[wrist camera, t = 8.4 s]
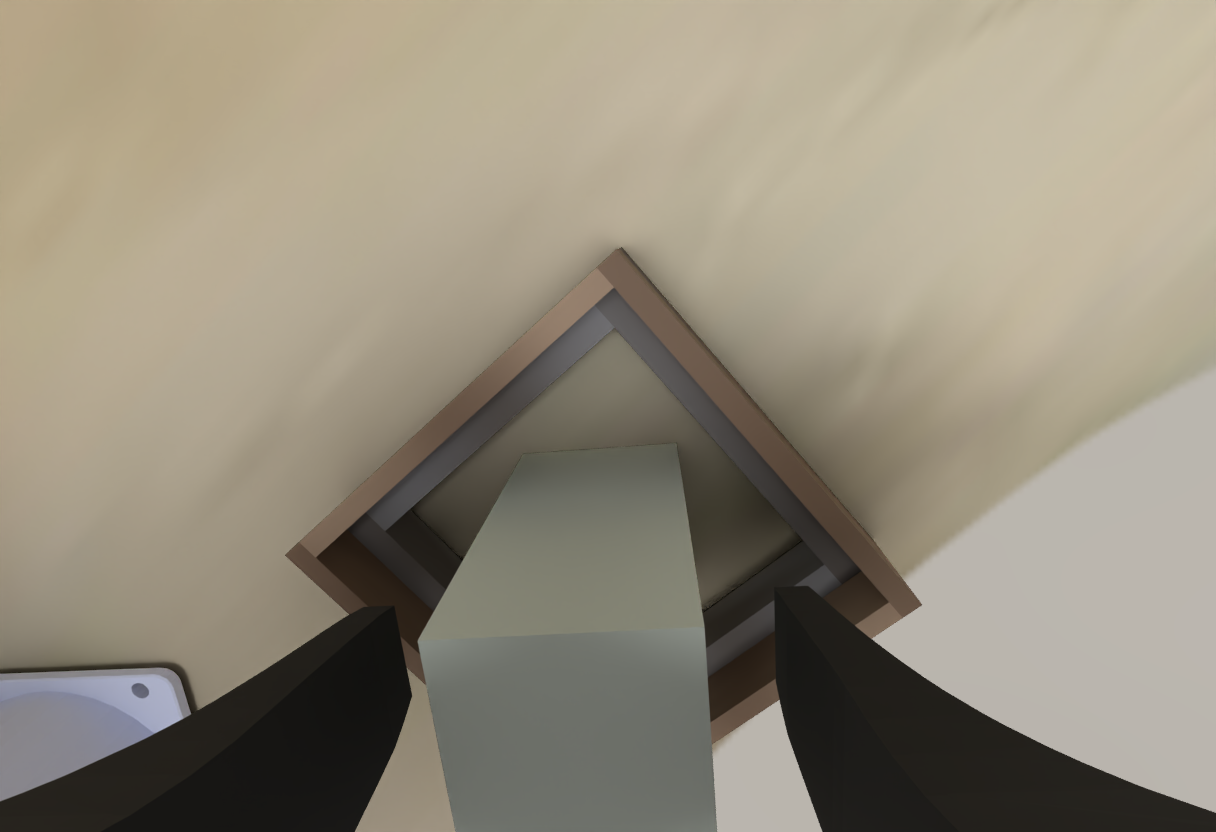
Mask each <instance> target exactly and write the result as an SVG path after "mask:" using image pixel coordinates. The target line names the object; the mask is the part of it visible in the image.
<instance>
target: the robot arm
mask: <svg viewBox="0 0 1216 832" xmlns="http://www.w3.org/2000/svg"><path fill="white" fill-rule="evenodd" d="M774 609H775V667H776V686H777V690H778V695H779V699H780V704H781V708H782V712H783V717H784V721H785V725H786V729H787V733H788V737H789V739H790V742H791V745H792V748H793V751H794V754H795V757H796V759H797V762H798V765H799V768H800V771H801V773H802V776H803V779H804V782H805V785H806V787H807V790H808V793H809V796H810V798H811V801H812V804H813V807H814V810H815V812H816V815H817V818H818V821H819V823H820V826H821V829H822V831H823V832H1216V813H1214V812H1212V811H1209V810H1206V809H1203V808H1200V807H1197V806H1194V805H1191V804H1189V803H1186V802H1183V801H1180V800H1177V799H1174V798H1172V797H1168V796H1166V795H1163V794H1160V793H1157V792H1154V791H1152V790H1148V789H1146V788H1143V787H1141V786H1138V785H1135V784H1133V783H1131V782H1128V781H1126V780H1123V779H1121V778H1118V777H1116V776H1114V775H1111V774H1109V773H1106V772H1104V771H1101V770H1099V769H1097V768H1094V767H1092V766H1090V765H1087V764H1085V763H1082V762H1080V761H1078V760H1075V759H1073V758H1071V757H1069V756H1067V755H1065V754H1062V753H1060V752H1058V751H1056V750H1053V749H1051V748H1049V747H1047V746H1045V745H1043V744H1041V743H1039V742H1037V741H1035V740H1033V739H1031V738H1029V737H1027V736H1025V735H1023V734H1021V733H1019V732H1017V731H1015V730H1013V729H1011V728H1009V727H1007V726H1005V725H1003V724H1001V723H999V722H998V721H996V720H994V719H992V718H990V717H988V716H987V715H985V714H983V713H981V712H979V711H978V710H976V709H974V708H972V707H971V706H969V705H968V704H966V703H964V702H963V701H961V700H959V699H957V698H956V697H954V696H952V695H951V694H949V693H947V692H946V691H944V690H942V689H941V688H939V687H938V686H936V685H935V684H933V683H932V682H930V681H929V680H927V679H926V678H924V677H922V676H921V675H920V674H918V673H917V672H916V671H914V670H913V669H911V668H910V667H908V666H907V665H905V664H904V663H903V662H901V661H900V660H898V659H897V658H896V657H894V656H893V655H892V654H890V653H889V652H888V651H886V650H885V649H884V648H882V647H881V646H880V645H878V644H877V643H876V642H874V641H873V640H872V639H871V638H870V637H868V636H867V635H866V634H865V633H863V632H862V631H861V630H860V629H858V628H857V627H856V626H855V625H854V624H852V623H851V622H850V621H849V620H848V619H846V618H845V617H844V616H843V615H842V614H840V613H839V612H838V611H837V610H836V609H835V608H833V607H832V606H831V605H830V604H829V603H828V602H827V601H825V600H824V599H823V598H822V597H821V596H820V595H818V594H817V593H816V592H815V591H814V590H813V589H811V588H810V587H809V586H790V587H774ZM144 685H145V686H144ZM411 698H412V693H411V688H410V683H409V678H408V673H407V667H406V662H405V657H404V652H403V647H402V642H401V637H400V632H399V627H398V621H397V616H396V611H395V606H394V605H392V606H371V607H363V608H361V609H359V610H357V611H355V612H353V613H352V614H350V615H348V616H347V617H345V618H343V619H342V620H340V621H339V622H337V623H335V624H334V625H332V626H331V627H329V628H328V629H326V630H325V631H323V632H322V633H320V634H319V635H317V636H316V637H314V638H313V639H311V640H310V641H308V642H307V643H305V644H304V645H302V646H301V647H299V648H298V649H296V650H295V651H293V652H292V653H290V654H289V655H287V656H286V657H284V658H283V659H281V660H279V661H278V662H276V663H275V664H273V665H272V666H270V667H269V668H267V669H266V670H264V671H262V672H261V673H259V674H258V675H256V676H254V677H253V678H251V679H249V680H248V681H246V682H245V683H243V684H241V685H240V686H238V687H236V688H235V689H233V690H232V691H230V692H228V693H227V694H225V695H224V696H222V697H220V698H219V699H217V700H215V701H214V702H212V703H210V704H208V705H207V706H205V707H203V708H202V709H200V710H198V711H196V712H194V713H193V714H191V712H190V709H189V706H188V703H187V699H186V696H185V693H184V690H183V686H182V683H181V680H180V678H179V677H178V675H177V674H176V673H175V672H174V671H172V670H170V669H167V668H138V669H112V670H86V671H61V672H35V673H9V674H0V832H355V830H356V828H357V826H358V824H359V822H360V820H361V817H362V815H363V813H364V811H365V809H366V807H367V805H368V803H369V801H370V799H371V797H372V795H373V793H374V791H375V789H376V787H377V785H378V783H379V780H380V778H381V776H382V774H383V772H384V770H385V768H386V766H387V764H388V762H389V759H390V757H391V755H392V753H393V751H394V749H395V746H396V743H397V741H398V738H399V735H400V732H401V729H402V726H403V723H404V720H405V717H406V714H407V710H408V707H409V704H410V701H411Z"/></svg>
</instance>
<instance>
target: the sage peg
mask: <svg viewBox="0 0 1216 832" xmlns="http://www.w3.org/2000/svg"><path fill="white" fill-rule="evenodd" d="M418 646H419V651H420V656H421V661H422V666H423V671H424V676H425V681H426V686H427V691H428V696H429V701H430V706H431V711H432V716H433V721H434V726H435V731H436V736H437V741H438V746H439V751H440V756H441V761H442V766H443V771H444V776H445V781H446V786H447V791H448V796H449V801H450V806H451V811H452V816H453V821H454V826H455V831H456V832H717V823H716V809H715V808H716V807H715V790H714V773H713V757H712V741H711V724H710V708H709V692H708V675H707V659H706V643H705V627H704V620H703V614H702V607H701V600H700V594H699V587H698V581H697V574H696V568H695V561H694V554H693V548H692V541H691V535H690V528H689V522H688V515H687V508H686V502H685V495H684V489H683V482H682V476H681V469H680V462H679V456H678V449H677V443H668V444H654V445H640V446H626V447H612V448H598V449H584V450H570V451H556V452H542V453H528V454H523V455H522V457H521V458H520V460H519V462H518V464H517V465H516V467H515V469H514V471H513V473H512V474H511V476H510V478H509V480H508V481H507V483H506V485H505V487H504V488H503V490H502V492H501V494H500V496H499V497H498V499H497V501H496V503H495V504H494V506H493V508H492V510H491V511H490V513H489V515H488V517H487V519H486V520H485V522H484V524H483V526H482V527H481V529H480V531H479V533H478V535H477V536H476V538H475V540H474V542H473V543H472V545H471V547H470V549H469V550H468V552H467V554H466V556H465V558H464V559H463V561H462V563H461V565H460V566H459V568H458V570H457V572H456V573H455V575H454V577H453V579H452V581H451V582H450V584H449V586H448V588H447V589H446V591H445V593H444V595H443V597H442V598H441V600H440V602H439V604H438V605H437V607H436V609H435V611H434V612H433V614H432V616H431V618H430V620H429V621H428V623H427V625H426V627H425V628H424V630H423V632H422V634H421V636H420V637H419V639H418Z"/></svg>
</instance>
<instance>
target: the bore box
mask: <svg viewBox="0 0 1216 832" xmlns="http://www.w3.org/2000/svg"><path fill="white" fill-rule="evenodd" d="M614 328H615V329H616V330H617V331H618V332H619V333H620V334H621V336H622V337H623V338H624V339H625V340H626V341H627V342H628V343H629V345H630V346H631V347H632V348H633V349H634V350H635V351H636V352H637V354H638V355H639V356H640V357H641V358H642V359H643V360H644V362H645V363H646V364H647V365H648V366H649V367H650V368H651V369H652V371H653V372H654V373H655V374H656V375H657V376H658V377H659V378H660V380H661V381H662V382H663V383H664V384H665V385H666V386H667V387H668V389H669V390H670V391H671V392H672V393H673V394H674V395H675V397H676V398H677V399H678V400H679V401H680V402H681V403H682V404H683V406H684V407H685V408H686V409H687V410H688V411H689V412H690V413H691V415H692V416H693V417H694V418H695V419H696V420H697V421H698V422H699V424H700V425H701V426H702V427H703V428H704V429H705V430H706V432H707V433H708V434H709V435H710V436H711V437H712V438H713V439H714V441H715V442H716V443H717V444H718V445H719V446H720V447H721V448H722V450H723V451H724V452H725V453H726V454H727V455H728V456H729V457H730V459H731V460H732V461H733V462H734V463H735V464H736V465H737V467H738V468H739V469H740V470H741V471H742V472H743V473H744V474H745V476H746V477H747V478H748V479H749V480H750V481H751V482H752V483H753V485H754V486H755V487H756V488H757V489H758V490H759V491H760V492H761V494H762V495H763V496H764V497H765V498H766V499H767V500H768V502H769V503H770V504H771V505H772V506H773V507H774V508H775V509H776V511H777V512H778V513H779V514H780V515H781V516H782V517H783V518H784V520H785V521H786V522H787V523H788V524H789V525H790V526H791V527H792V529H793V530H794V531H795V532H796V533H797V534H798V535H799V537H800V538H801V539H802V540H803V541H802V542H800V543H799V544H798V545H796V546H795V547H794V548H792V549H791V550H789V551H788V552H787V553H785V554H784V555H783V556H781V557H780V558H778V559H777V560H776V561H774V562H773V563H771V564H770V565H769V566H767V567H766V568H765V569H763V570H762V571H760V572H759V573H758V574H756V575H755V576H754V577H752V578H751V579H749V580H748V581H747V582H745V583H744V584H742V585H741V586H740V587H738V588H737V589H736V590H734V591H733V592H731V593H730V594H729V595H727V596H726V597H725V598H723V599H722V600H720V601H719V602H718V603H716V604H715V605H714V606H712V607H711V608H709V609H708V610H707V611H705V612H704V613H702V614H703V620H704V627H705V643H706V659H707V675H708V692H709V708H710V724H711V741H712V744H713V743H715V742H716V741H718V740H719V739H721V738H722V737H724V736H725V735H727V734H728V733H730V732H731V731H733V730H734V729H736V728H737V727H739V726H740V725H742V724H743V723H745V722H746V721H748V720H749V719H751V718H752V717H754V716H755V715H757V714H758V713H760V712H761V711H763V710H764V709H766V708H767V707H769V706H771V705H772V704H774V703H775V702H777V701H778V700H780V699H779V695H778V690H777V686H776V667H775V609H774V587H790V586H809V587H810V588H811V589H813V590H814V591H815V592H816V593H817V594H818V595H820V596H821V597H822V598H823V599H824V600H825V601H827V602H828V603H829V604H830V605H831V606H832V607H833V608H835V609H836V610H837V611H838V612H839V613H840V614H842V615H843V616H844V617H845V618H846V619H848V620H849V621H850V622H851V623H852V624H854V625H855V626H856V627H857V628H858V629H860V630H861V631H862V632H863V633H865V634H866V635H867V636H868V637H870V638H871V639H872V638H873V637H875V636H876V635H877V634H879V633H880V632H882V631H884V630H885V629H886V628H888V627H890V626H891V625H893V624H894V623H896V622H897V621H899V620H900V619H902V618H903V617H905V616H906V615H908V614H909V613H911V612H912V611H914V610H915V609H917V608H918V607H920V606H921V605H922V604H921V603H920V601H919V600H918V599H917V597H916V596H915V595H914V593H913V592H912V591H911V589H910V588H909V587H908V585H907V584H906V583H905V581H904V580H903V579H902V577H901V576H900V575H899V573H898V572H897V571H896V570H895V568H894V567H893V566H892V564H891V563H890V562H889V560H888V559H887V558H886V556H885V555H884V554H883V552H882V551H881V550H880V548H879V547H878V546H877V544H876V543H875V542H874V540H873V539H872V538H871V537H870V536H869V535H868V533H867V532H866V531H865V530H864V529H863V528H862V527H861V525H860V524H859V523H858V522H857V521H856V520H855V518H854V517H853V516H852V515H851V514H850V513H849V511H848V510H847V509H846V508H845V507H844V506H843V504H842V503H841V502H840V501H839V500H838V499H837V497H836V496H835V495H834V494H833V493H832V492H831V490H830V489H829V488H828V487H827V486H826V485H825V483H824V482H823V481H822V480H821V479H820V478H819V476H818V475H817V474H816V473H815V472H814V471H813V469H812V468H811V467H810V466H809V465H808V464H807V462H806V461H805V460H804V459H803V458H802V457H801V456H800V454H799V453H798V452H797V451H796V450H795V449H794V447H793V446H792V445H791V444H790V443H789V442H788V440H787V439H786V438H785V437H784V436H783V435H782V433H781V432H780V431H779V430H778V429H777V428H776V426H775V425H774V424H773V423H772V422H771V421H770V419H769V418H768V417H767V416H766V415H765V414H764V412H763V411H762V410H761V409H760V408H759V407H758V405H757V404H756V403H755V402H754V401H753V400H752V398H751V397H750V396H749V395H748V394H747V393H746V391H745V390H744V389H743V388H742V387H741V386H740V384H739V383H738V382H737V381H736V380H735V379H734V378H733V376H732V375H731V374H730V373H729V372H728V371H727V369H726V368H725V367H724V366H723V365H722V364H721V362H720V361H719V360H718V359H717V358H716V357H715V355H714V354H713V353H712V352H711V351H710V350H709V348H708V347H707V346H706V345H705V344H704V343H703V341H702V340H701V339H700V338H699V337H698V336H697V334H696V333H695V332H694V331H693V330H692V329H691V327H690V326H689V325H688V324H687V323H686V322H685V320H684V319H683V318H682V317H681V316H680V315H679V313H678V312H677V311H676V310H675V309H674V308H673V307H672V305H671V304H670V303H669V302H668V301H667V300H666V298H665V297H664V296H663V295H662V294H661V293H660V291H659V290H658V289H657V288H656V287H655V286H654V284H653V283H652V282H651V281H650V280H649V279H648V277H647V276H646V275H645V274H644V273H643V272H642V270H641V269H640V268H639V267H638V266H637V265H636V263H635V262H634V261H633V260H632V259H631V258H630V256H629V255H628V254H627V253H626V252H625V251H624V249H623V248H622V247H621V248H619V249H616V250H615V251H614V252H613V253H612V254H611V255H610V256H609V257H607V258H606V259H605V260H604V261H603V262H602V263H601V264H600V265H599V266H598V267H597V268H596V269H594V270H593V271H592V272H591V273H590V274H589V275H588V276H587V277H586V278H585V279H584V280H583V281H581V282H580V283H579V284H578V285H577V286H576V287H575V288H574V289H573V290H572V291H571V292H570V293H568V294H567V295H566V296H565V297H564V298H563V299H562V300H561V301H560V302H559V303H558V304H557V305H555V306H554V307H553V308H552V309H551V310H550V311H549V312H548V313H547V314H546V315H545V316H544V317H542V318H541V319H540V320H539V321H538V322H537V323H536V324H535V325H534V326H533V327H532V328H531V329H529V330H528V331H527V332H526V333H525V334H524V335H523V336H522V337H521V338H520V339H519V340H518V341H516V342H515V343H514V344H513V345H512V346H511V347H510V348H509V349H508V350H507V351H506V352H505V353H503V354H502V355H501V356H500V357H499V358H498V359H497V360H496V361H495V362H494V363H493V364H491V365H490V366H489V367H488V368H487V369H486V370H485V371H484V372H483V373H482V374H481V375H480V376H478V377H477V378H476V379H475V380H474V381H473V382H472V383H471V384H470V385H469V386H468V387H467V388H465V389H464V390H463V391H462V392H461V393H460V394H459V395H458V396H457V397H456V398H455V399H454V400H452V401H451V402H450V403H449V404H448V405H447V406H446V407H445V408H444V409H443V410H442V411H441V412H439V413H438V414H437V415H436V416H435V417H434V418H433V419H432V420H431V421H430V422H429V423H428V424H426V425H425V426H424V427H423V428H422V429H421V430H420V431H419V432H418V433H417V434H416V435H415V436H413V437H412V438H411V439H410V440H409V441H408V442H407V443H406V444H405V445H404V446H403V447H402V448H400V449H399V450H398V451H397V452H396V453H395V454H394V455H393V456H392V457H391V458H390V459H389V460H387V461H386V462H385V463H384V464H383V465H382V466H381V467H380V468H379V469H378V470H377V471H376V472H374V473H373V474H372V475H371V476H370V477H369V478H368V479H367V480H366V481H365V482H364V483H363V484H361V485H360V486H359V487H358V488H357V489H356V490H355V491H354V492H353V493H352V494H351V495H350V496H348V497H347V498H346V499H345V500H344V501H343V502H342V503H341V504H340V505H339V506H338V507H336V508H335V509H334V510H333V511H332V512H331V513H330V514H329V515H328V516H327V517H326V518H325V519H323V520H322V521H321V522H320V523H319V524H318V525H317V526H316V527H315V528H314V529H313V530H312V531H310V532H309V533H308V534H307V535H306V536H305V537H304V538H303V539H302V540H301V541H300V542H299V543H297V544H296V545H295V546H294V547H293V548H292V549H291V550H290V551H289V552H288V553H287V554H286V555H285V556H286V557H287V558H289V559H290V560H291V561H292V562H293V563H294V564H295V565H296V566H297V567H298V568H299V569H301V570H302V571H303V572H304V573H305V574H306V575H307V576H308V577H309V578H310V579H311V580H312V581H314V582H315V583H316V584H317V585H318V586H319V587H320V588H321V589H322V590H323V591H324V592H326V593H327V594H328V595H329V596H330V597H331V598H332V599H333V600H334V601H335V602H336V603H337V604H339V605H340V606H341V607H342V608H343V609H344V610H345V611H346V612H347V613H348V614H349V615H350V614H352V613H353V612H355V611H357V610H359V609H361V608H363V607H371V606H392V605H394V606H395V611H396V616H397V621H398V627H399V632H400V637H401V642H402V647H403V652H404V657H405V662H406V667H407V668H408V669H409V670H410V671H411V672H412V673H414V674H415V675H416V676H417V677H418V678H419V679H420V680H421V681H422V682H423V683H424V684H425V685H426V681H425V676H424V671H423V666H422V661H421V656H420V651H419V646H418V639H419V637H420V636H421V634H422V632H423V630H424V628H425V627H426V625H427V623H428V621H429V620H430V618H431V616H432V614H433V612H434V611H435V609H436V607H437V605H438V604H439V602H440V600H441V598H442V597H443V595H444V593H445V591H446V589H447V588H448V586H449V584H450V582H451V581H452V579H453V577H454V575H455V573H456V572H457V570H458V568H459V566H460V565H461V563H462V560H461V559H460V558H459V557H458V556H457V555H456V554H455V553H454V552H453V551H452V550H451V549H450V548H449V547H448V546H447V545H446V544H445V543H444V542H443V541H442V540H441V539H440V538H439V537H438V536H437V535H436V534H435V533H434V532H432V531H431V530H430V529H429V528H428V527H427V526H426V525H425V524H424V523H423V522H422V521H421V520H420V519H419V518H418V517H417V516H416V515H415V514H414V513H413V512H412V511H411V510H410V509H411V508H412V507H413V506H414V505H415V504H416V503H417V502H419V501H420V500H421V499H422V498H423V497H424V496H425V495H426V494H428V493H429V492H430V491H431V490H432V489H433V488H434V487H435V486H437V485H438V484H439V483H440V482H441V481H442V480H443V479H444V478H446V477H447V476H448V475H449V474H450V473H451V472H452V471H453V470H455V469H456V468H457V467H458V466H459V465H460V464H461V463H462V462H464V461H465V460H466V459H467V458H468V457H469V456H470V455H471V454H473V453H474V452H475V451H476V450H477V449H478V448H479V447H481V446H482V445H483V444H484V443H485V442H486V441H487V440H488V439H490V438H491V437H492V436H493V435H494V434H495V433H496V432H497V431H499V430H500V429H501V428H502V427H503V426H504V425H505V424H506V423H508V422H509V421H510V420H511V419H512V418H513V417H514V416H515V415H517V414H518V413H519V412H520V411H521V410H522V409H523V408H524V407H526V406H527V405H528V404H529V403H530V402H531V401H532V400H534V399H535V398H536V397H537V396H538V395H539V394H540V393H541V392H543V391H544V390H545V389H546V388H547V387H548V386H549V385H550V384H552V383H553V382H554V381H555V380H556V379H557V378H558V377H559V376H561V375H562V374H563V373H564V372H565V371H566V370H567V369H568V368H570V367H571V366H572V365H573V364H574V363H575V362H576V361H577V360H579V359H580V358H581V357H582V356H583V355H584V354H585V353H587V352H588V351H589V350H590V349H591V348H592V347H593V346H594V345H596V344H597V343H598V342H599V341H600V340H601V339H602V338H603V337H605V336H606V335H607V334H608V333H609V332H610V331H611V330H612V329H614Z"/></svg>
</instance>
